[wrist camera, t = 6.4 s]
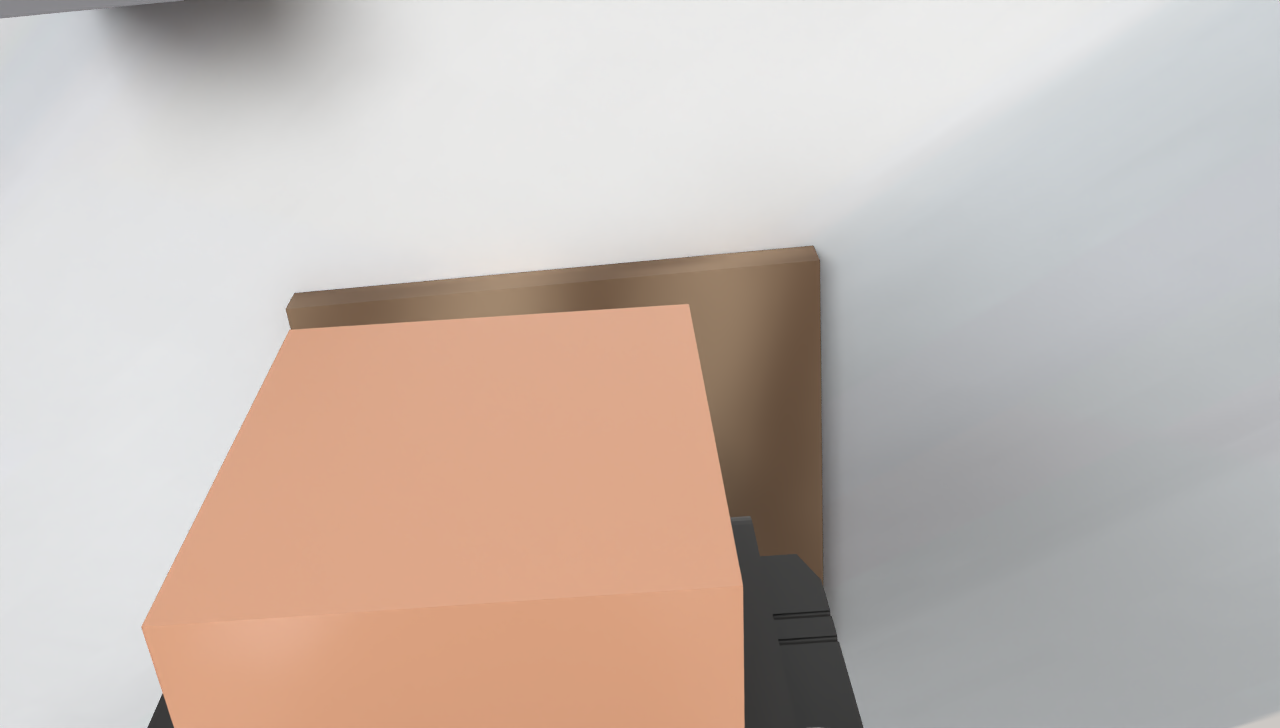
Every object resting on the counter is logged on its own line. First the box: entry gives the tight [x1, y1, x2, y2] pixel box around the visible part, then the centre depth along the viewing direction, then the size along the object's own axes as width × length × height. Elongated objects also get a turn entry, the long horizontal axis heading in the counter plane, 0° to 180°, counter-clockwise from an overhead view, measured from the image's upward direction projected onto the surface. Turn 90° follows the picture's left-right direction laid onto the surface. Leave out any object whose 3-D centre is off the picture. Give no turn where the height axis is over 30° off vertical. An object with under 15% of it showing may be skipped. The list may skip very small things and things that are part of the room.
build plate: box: [286, 246, 823, 585], centre depth 32 cm, size 14×14×6 cm
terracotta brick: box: [142, 304, 745, 728], centre depth 13 cm, size 4×7×5 cm, turn 3°
